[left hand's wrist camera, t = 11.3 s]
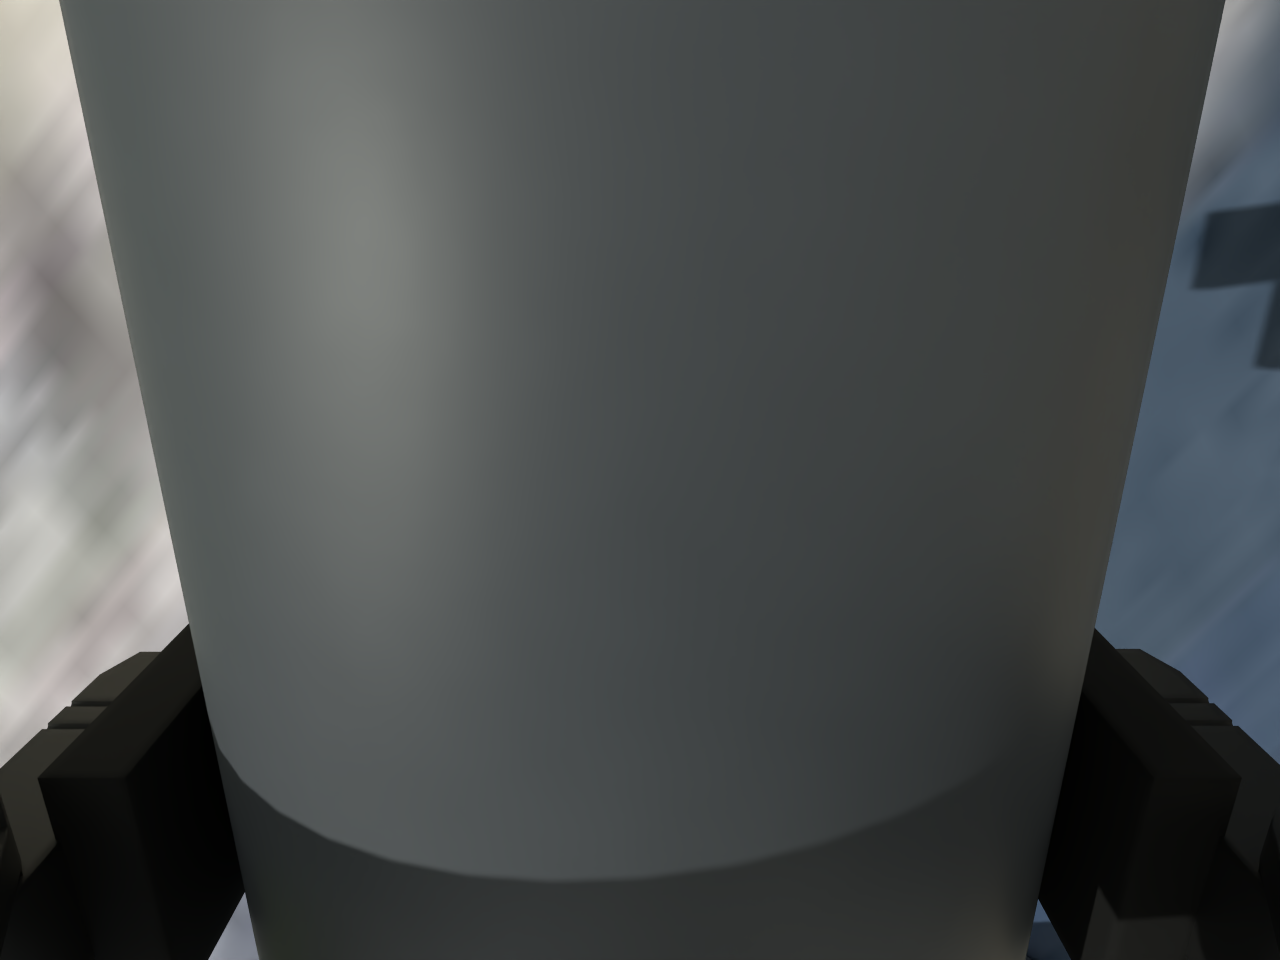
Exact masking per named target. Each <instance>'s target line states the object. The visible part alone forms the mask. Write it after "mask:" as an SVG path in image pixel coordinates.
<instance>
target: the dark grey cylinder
mask: <svg viewBox="0 0 1280 960" xmlns="http://www.w3.org/2000/svg"><path fill="white" fill-rule="evenodd" d="M59 1H60V6H61V11H62V16H63V21H64V25H65V30H66V35H67V40H68V45H69V49H70V54H71V59H72V64H73V68H74V73H75V78H76V83H77V88H78V92H79V97H80V102H81V107H82V112H83V116H84V121H85V126H86V131H87V136H88V140H89V145H90V150H91V155H92V160H93V164H94V169H95V174H96V179H97V184H98V188H99V193H100V198H101V203H102V208H103V212H104V217H105V222H106V227H107V232H108V236H109V241H110V246H111V251H112V256H113V260H114V265H115V270H116V275H117V280H118V284H119V289H120V294H121V299H122V304H123V308H124V313H125V318H126V323H127V328H128V332H129V337H130V342H131V347H132V352H133V356H134V361H135V366H136V371H137V376H138V380H139V385H140V390H141V395H142V400H143V404H144V409H145V414H146V419H147V424H148V428H149V433H150V438H151V443H152V448H153V452H154V457H155V462H156V467H157V471H158V476H159V481H160V486H161V491H162V495H163V500H164V505H165V510H166V515H167V519H168V524H169V529H170V534H171V539H172V543H173V548H174V553H175V558H176V563H177V567H178V572H179V577H180V582H181V587H182V591H183V596H184V601H185V606H186V611H187V615H188V620H189V625H190V630H191V635H192V639H193V644H194V649H195V654H196V659H197V663H198V668H199V673H200V678H201V683H202V687H203V692H204V697H205V702H206V707H207V711H208V716H209V721H210V726H211V731H212V735H213V740H214V745H215V750H216V755H217V759H218V764H219V769H220V774H221V779H222V783H223V788H224V793H225V798H226V803H227V807H228V812H229V817H230V822H231V827H232V831H233V836H234V841H235V846H236V851H237V855H238V860H239V865H240V870H241V874H242V879H243V884H244V889H245V894H246V898H247V903H248V908H249V913H250V918H251V922H252V927H253V932H254V937H255V942H256V946H257V951H258V956H259V960H1025V959H1026V954H1027V949H1028V944H1029V939H1030V935H1031V930H1032V925H1033V920H1034V915H1035V911H1036V906H1037V901H1038V896H1039V891H1040V887H1041V882H1042V877H1043V872H1044V867H1045V863H1046V858H1047V853H1048V848H1049V843H1050V839H1051V834H1052V829H1053V824H1054V819H1055V815H1056V810H1057V805H1058V800H1059V795H1060V791H1061V786H1062V781H1063V776H1064V772H1065V767H1066V762H1067V757H1068V752H1069V748H1070V743H1071V738H1072V733H1073V728H1074V724H1075V719H1076V714H1077V709H1078V704H1079V700H1080V695H1081V690H1082V685H1083V680H1084V676H1085V671H1086V666H1087V661H1088V656H1089V652H1090V647H1091V642H1092V637H1093V632H1094V628H1095V623H1096V618H1097V613H1098V608H1099V604H1100V599H1101V594H1102V589H1103V584H1104V580H1105V575H1106V570H1107V565H1108V560H1109V556H1110V551H1111V546H1112V541H1113V536H1114V532H1115V527H1116V522H1117V517H1118V512H1119V508H1120V503H1121V498H1122V493H1123V488H1124V484H1125V479H1126V474H1127V469H1128V465H1129V460H1130V455H1131V450H1132V445H1133V441H1134V436H1135V431H1136V426H1137V421H1138V417H1139V412H1140V407H1141V402H1142V397H1143V393H1144V388H1145V383H1146V378H1147V373H1148V369H1149V364H1150V359H1151V354H1152V349H1153V345H1154V340H1155V335H1156V330H1157V325H1158V321H1159V316H1160V311H1161V306H1162V301H1163V297H1164V292H1165V287H1166V282H1167V277H1168V273H1169V268H1170V263H1171V258H1172V253H1173V249H1174V244H1175V239H1176V234H1177V229H1178V225H1179V220H1180V215H1181V210H1182V205H1183V201H1184V196H1185V191H1186V186H1187V181H1188V177H1189V172H1190V167H1191V162H1192V158H1193V153H1194V148H1195V143H1196V138H1197V134H1198V129H1199V124H1200V119H1201V114H1202V110H1203V105H1204V100H1205V95H1206V90H1207V86H1208V81H1209V76H1210V71H1211V66H1212V62H1213V57H1214V52H1215V47H1216V42H1217V38H1218V33H1219V28H1220V23H1221V18H1222V14H1223V9H1224V4H1225V0H59Z"/></svg>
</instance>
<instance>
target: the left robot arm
mask: <svg viewBox="0 0 1280 960" xmlns="http://www.w3.org/2000/svg"><path fill="white" fill-rule="evenodd" d="M244 893H245V889H244V884H243V879H242V874H241V870H240V865H239V860H238V855H237V851H236V846H235V841H234V836H233V831H232V827H231V822H230V817H229V812H228V807H227V803H226V798H225V793H224V788H223V783H222V779H221V774H220V769H219V764H218V759H217V755H216V750H215V745H214V740H213V735H212V731H211V726H210V721H209V716H208V711H207V707H206V702H205V697H204V692H203V687H202V683H201V678H200V673H199V668H198V663H197V659H196V654H195V649H194V644H193V639H192V635H191V630H190V625H189V624H188V625H187V626H186V627H185V628H184V629H183V630H182V631H181V632H180V633H179V634H178V635H177V636H176V637H175V638H174V639H173V640H172V641H171V642H170V643H169V644H168V645H167V646H166V647H165V648H164V649H163V650H162V651H161V652H139V653H137V654H136V655H134V656H132V657H130V658H129V659H127V660H125V661H123V662H121V663H120V664H118V665H116V666H114V667H113V668H111V669H109V670H107V671H105V672H104V673H102V674H100V675H99V676H98V677H97V678H96V679H95V680H94V681H93V682H92V683H90V684H89V685H88V686H87V687H86V688H85V689H84V690H83V691H82V692H81V693H80V694H79V695H78V696H77V697H76V698H75V699H74V700H72V705H71V707H65V708H64V709H63V710H62V711H61V712H60V713H59V714H58V715H57V716H56V717H54V718H53V719H52V720H51V721H50V722H49V723H48V728H47V729H42V730H41V731H40V732H39V733H37V734H36V735H35V736H34V737H33V738H32V739H31V740H30V741H29V742H28V743H27V744H26V745H25V746H24V747H23V748H22V749H21V750H19V751H18V752H17V753H16V754H15V755H14V756H13V757H12V758H11V759H10V760H9V761H8V762H7V763H6V764H5V765H4V766H3V767H1V768H0V960H208V959H209V957H210V955H211V953H212V952H213V950H214V948H215V946H216V944H217V942H218V940H219V939H220V937H221V935H222V933H223V931H224V929H225V928H226V926H227V924H228V922H229V920H230V918H231V917H232V915H233V913H234V911H235V909H236V907H237V905H238V904H239V902H240V900H241V898H242V896H243V894H244ZM1038 899H1039V901H1040V903H1041V905H1042V907H1043V908H1044V910H1045V912H1046V914H1047V916H1048V918H1049V919H1050V921H1051V923H1052V925H1053V927H1054V929H1055V931H1056V932H1057V934H1058V936H1059V938H1060V940H1061V942H1062V943H1063V945H1064V947H1065V949H1066V951H1067V953H1068V954H1069V956H1070V958H1071V960H1280V765H1279V764H1278V763H1277V762H1276V761H1275V760H1274V759H1273V758H1272V757H1271V756H1270V755H1269V754H1268V753H1266V752H1265V751H1264V750H1263V749H1262V748H1261V747H1260V746H1259V745H1258V744H1257V743H1256V742H1255V741H1254V740H1253V739H1252V738H1250V737H1249V736H1248V735H1247V734H1246V733H1245V732H1244V731H1243V730H1242V729H1241V728H1240V727H1239V726H1233V725H1232V720H1231V719H1230V718H1229V717H1228V716H1227V715H1226V714H1225V713H1224V712H1223V711H1222V710H1221V709H1220V708H1218V707H1217V706H1216V705H1215V704H1214V703H1209V701H1208V697H1207V696H1206V695H1205V694H1204V693H1202V692H1201V691H1200V690H1199V689H1198V688H1197V687H1196V686H1195V685H1194V684H1193V683H1192V682H1191V681H1190V680H1189V679H1188V678H1186V677H1185V676H1184V675H1183V674H1182V673H1181V672H1180V671H1178V670H1176V669H1175V668H1173V667H1171V666H1169V665H1167V664H1166V663H1164V662H1162V661H1160V660H1159V659H1157V658H1155V657H1153V656H1151V655H1150V654H1148V653H1146V652H1144V651H1142V650H1141V649H1115V648H1114V647H1113V646H1112V645H1111V644H1110V643H1109V642H1108V641H1107V640H1106V639H1105V638H1104V637H1103V636H1102V635H1101V634H1100V633H1099V632H1098V631H1097V630H1096V629H1095V628H1094V632H1093V637H1092V642H1091V647H1090V652H1089V656H1088V661H1087V666H1086V671H1085V676H1084V680H1083V685H1082V690H1081V695H1080V700H1079V704H1078V709H1077V714H1076V719H1075V724H1074V728H1073V733H1072V738H1071V743H1070V748H1069V752H1068V757H1067V762H1066V767H1065V772H1064V776H1063V781H1062V786H1061V791H1060V795H1059V800H1058V805H1057V810H1056V815H1055V819H1054V824H1053V829H1052V834H1051V839H1050V843H1049V848H1048V853H1047V858H1046V863H1045V867H1044V872H1043V877H1042V882H1041V887H1040V891H1039V896H1038ZM1025 960H1032V959H1030V958H1029V957H1027V956H1026V959H1025Z"/></svg>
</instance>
